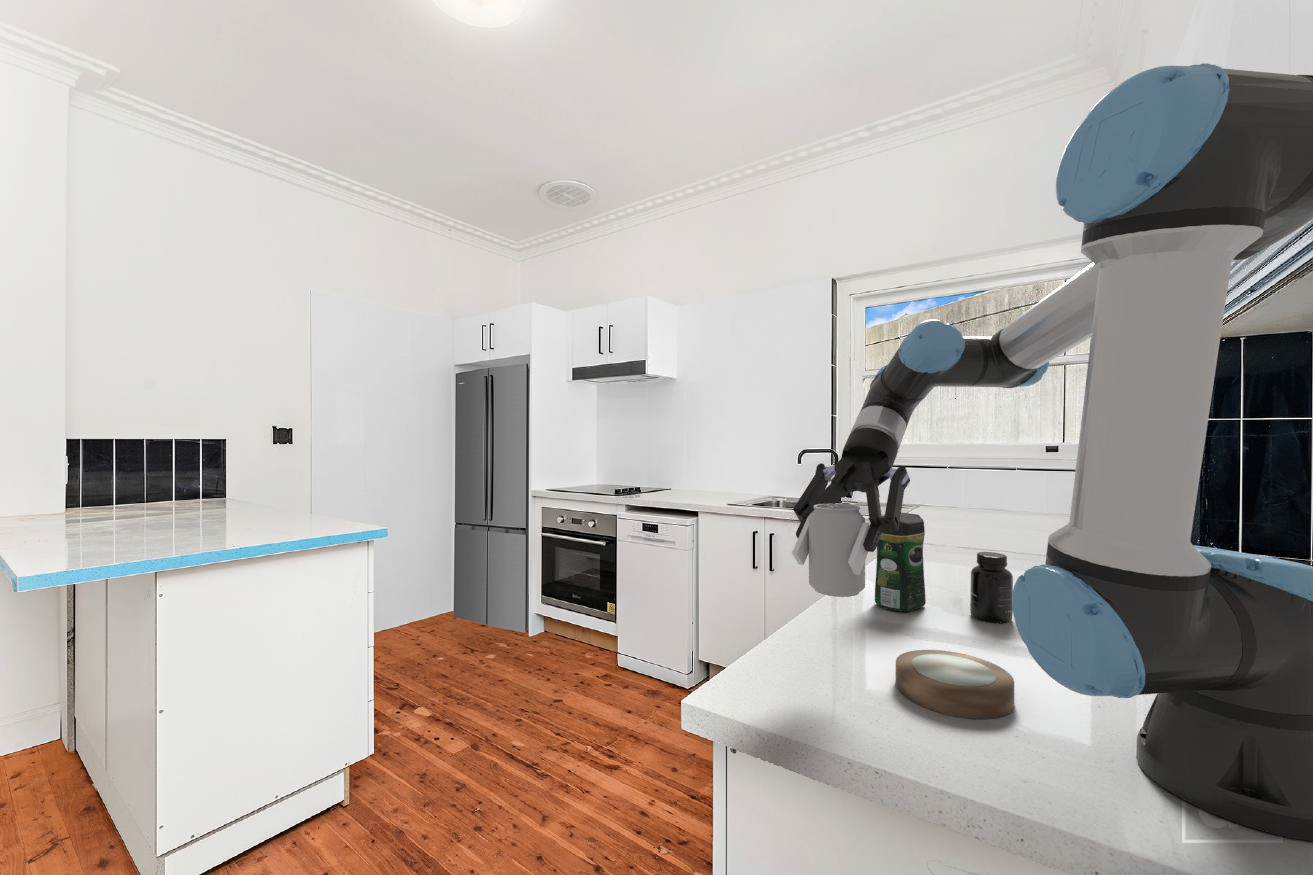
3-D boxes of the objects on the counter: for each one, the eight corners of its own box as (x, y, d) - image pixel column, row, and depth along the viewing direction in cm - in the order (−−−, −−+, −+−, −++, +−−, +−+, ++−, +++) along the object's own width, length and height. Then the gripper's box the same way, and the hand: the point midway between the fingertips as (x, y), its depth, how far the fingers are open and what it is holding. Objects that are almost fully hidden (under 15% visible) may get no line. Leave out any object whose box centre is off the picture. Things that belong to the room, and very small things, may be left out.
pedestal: (1041, 715, 69) (1041, 689, 69) (934, 722, 68) (934, 696, 68) (966, 667, 83) (966, 646, 83) (876, 672, 82) (876, 650, 82)
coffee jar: (895, 597, 119) (896, 509, 118) (932, 606, 112) (932, 513, 112) (866, 605, 113) (867, 512, 113) (902, 615, 107) (903, 517, 106)
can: (827, 600, 74) (827, 509, 74) (798, 586, 81) (798, 502, 81) (877, 596, 76) (876, 507, 76) (844, 582, 83) (844, 500, 83)
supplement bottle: (961, 615, 107) (962, 552, 107) (985, 610, 110) (985, 548, 110) (997, 626, 101) (997, 559, 100) (1021, 621, 103) (1021, 556, 103)
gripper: (949, 460, 83) (909, 593, 71) (821, 457, 97) (770, 567, 85) (937, 424, 79) (893, 558, 67) (805, 426, 93) (750, 537, 81)
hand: (824, 563), depth 76 cm, fingers closed on can, 7 cm apart
